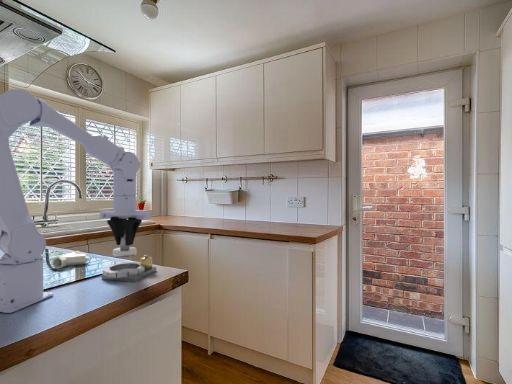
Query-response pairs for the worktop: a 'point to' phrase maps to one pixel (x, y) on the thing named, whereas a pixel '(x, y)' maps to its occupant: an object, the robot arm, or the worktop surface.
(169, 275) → the worktop surface
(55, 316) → the worktop surface
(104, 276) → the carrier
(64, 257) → the pipe fitting
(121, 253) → the silver stemmed round piece
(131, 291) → the worktop surface
